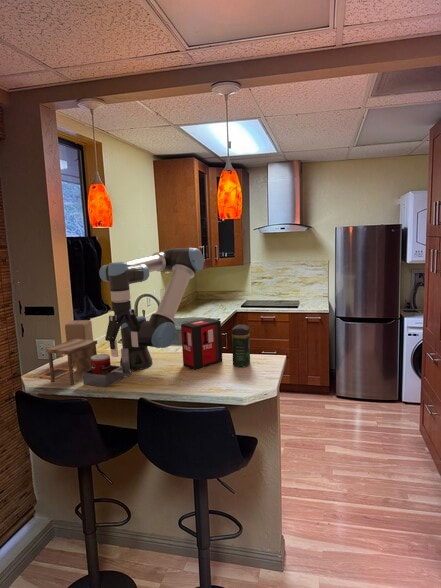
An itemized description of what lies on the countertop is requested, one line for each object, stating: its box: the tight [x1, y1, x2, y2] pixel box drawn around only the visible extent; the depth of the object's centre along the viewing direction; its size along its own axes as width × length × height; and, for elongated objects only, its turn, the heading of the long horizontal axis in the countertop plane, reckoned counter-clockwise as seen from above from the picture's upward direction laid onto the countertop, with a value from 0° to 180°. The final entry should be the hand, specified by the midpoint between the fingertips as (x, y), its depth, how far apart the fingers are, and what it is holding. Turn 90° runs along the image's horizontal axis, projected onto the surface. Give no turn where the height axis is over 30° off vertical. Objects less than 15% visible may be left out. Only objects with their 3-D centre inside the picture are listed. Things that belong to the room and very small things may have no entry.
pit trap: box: [38, 367, 75, 381], centre depth 182 cm, size 10×11×1 cm
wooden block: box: [64, 319, 94, 364], centre depth 199 cm, size 10×10×20 cm
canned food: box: [91, 353, 112, 375], centre depth 170 cm, size 8×8×11 cm
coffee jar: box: [231, 324, 251, 369], centre depth 183 cm, size 10×8×19 cm
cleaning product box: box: [180, 317, 223, 371], centre depth 186 cm, size 16×9×20 cm, turn 131°
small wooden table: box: [45, 339, 98, 386], centre depth 176 cm, size 13×17×15 cm
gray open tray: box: [81, 348, 133, 388], centre depth 168 cm, size 20×12×15 cm, turn 67°
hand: (125, 351), depth 164 cm, fingers open, 13 cm apart
